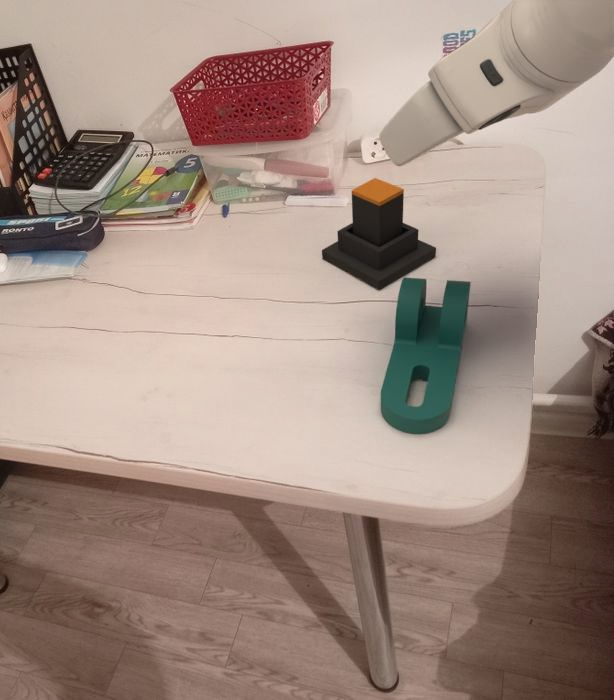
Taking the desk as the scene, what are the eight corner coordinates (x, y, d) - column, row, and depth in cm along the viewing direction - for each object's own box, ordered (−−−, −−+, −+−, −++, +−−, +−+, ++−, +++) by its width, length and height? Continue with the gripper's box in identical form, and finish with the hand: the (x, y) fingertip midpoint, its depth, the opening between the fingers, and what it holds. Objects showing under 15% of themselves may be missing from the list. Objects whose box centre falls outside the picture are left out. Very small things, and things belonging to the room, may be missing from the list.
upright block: (402, 248, 84) (404, 188, 78) (379, 261, 83) (379, 202, 77) (375, 235, 88) (374, 177, 82) (353, 247, 87) (351, 190, 81)
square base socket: (435, 256, 83) (437, 228, 80) (378, 290, 81) (378, 262, 78) (375, 228, 91) (375, 201, 88) (322, 258, 89) (320, 232, 86)
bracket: (404, 317, 76) (406, 265, 71) (465, 323, 73) (472, 269, 68) (374, 427, 65) (374, 374, 60) (445, 439, 62) (450, 384, 57)
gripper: (595, -18, 54) (485, 77, 68) (422, 68, 50) (340, 152, 63) (635, 41, 54) (516, 125, 67) (464, 134, 49) (373, 204, 63)
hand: (430, 139), depth 65 cm, fingers open, 8 cm apart
